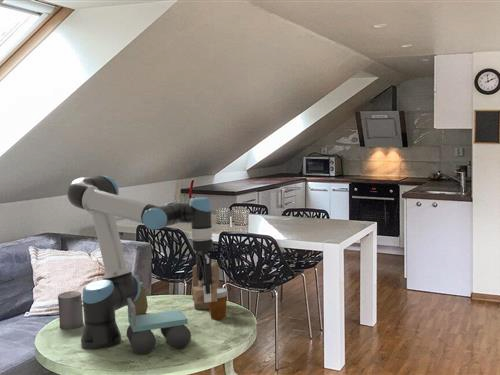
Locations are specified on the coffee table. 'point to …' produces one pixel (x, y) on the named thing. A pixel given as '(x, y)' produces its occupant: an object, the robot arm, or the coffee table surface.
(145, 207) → the robot arm
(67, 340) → the coffee table surface
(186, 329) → the trolley
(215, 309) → the disposable coffee cup
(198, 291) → the block
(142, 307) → the squeeze bottle
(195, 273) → the block
